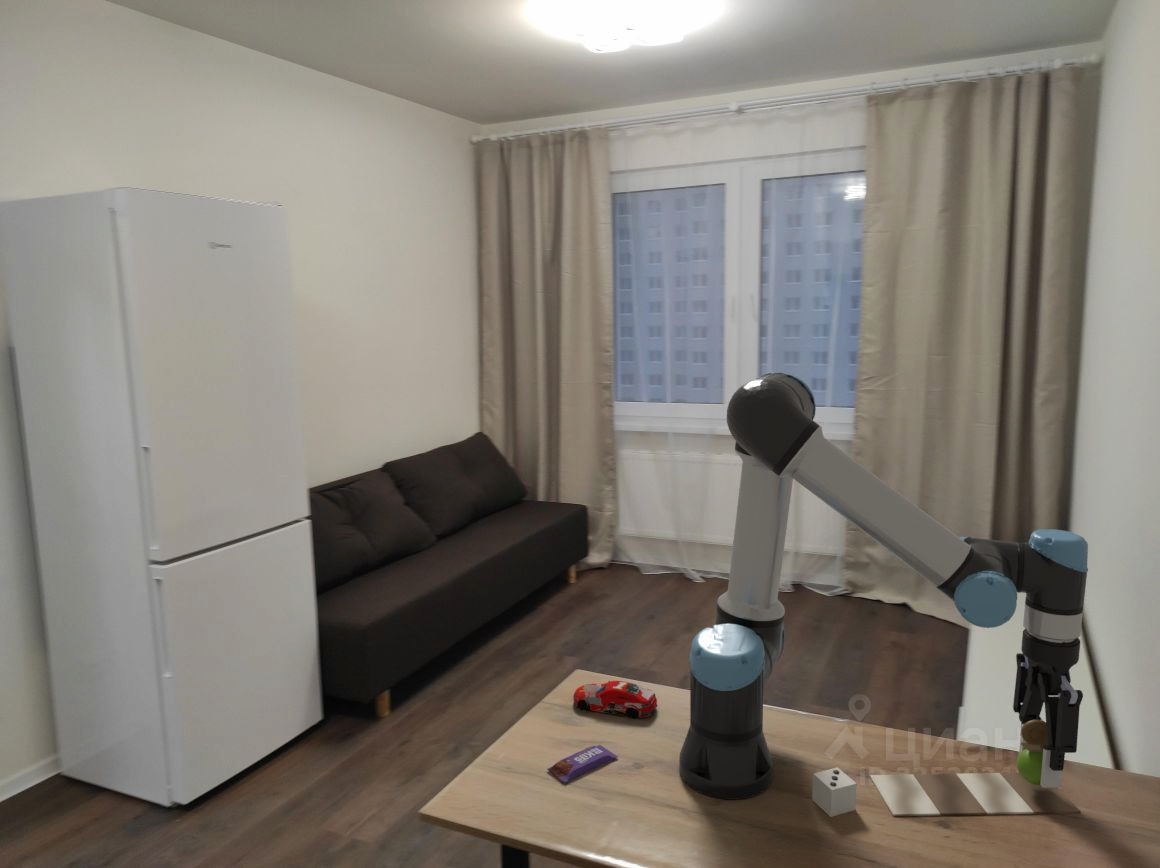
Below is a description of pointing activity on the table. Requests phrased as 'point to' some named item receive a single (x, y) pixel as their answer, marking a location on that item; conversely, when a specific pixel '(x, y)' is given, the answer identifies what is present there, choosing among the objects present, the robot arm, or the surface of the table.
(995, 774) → the game board
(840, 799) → the die
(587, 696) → the race car
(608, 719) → the table surface
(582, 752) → the snack package
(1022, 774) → the snail figurine
